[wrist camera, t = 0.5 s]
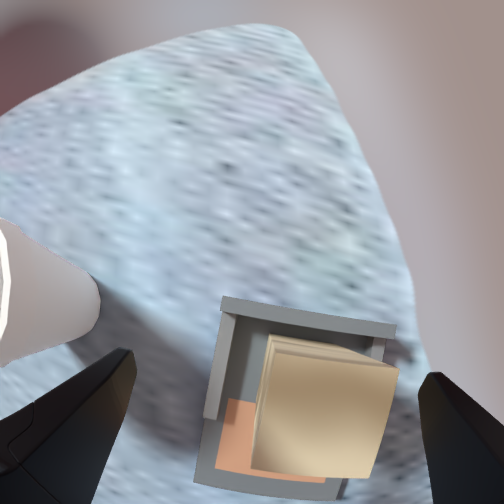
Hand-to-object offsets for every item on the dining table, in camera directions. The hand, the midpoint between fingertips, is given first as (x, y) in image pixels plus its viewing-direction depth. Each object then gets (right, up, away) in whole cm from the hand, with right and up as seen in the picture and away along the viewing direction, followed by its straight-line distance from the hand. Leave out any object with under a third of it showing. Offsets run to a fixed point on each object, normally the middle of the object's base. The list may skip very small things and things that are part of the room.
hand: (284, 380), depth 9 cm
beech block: (+2, -5, +14) cm, 15 cm away
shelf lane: (+2, -9, +14) cm, 17 cm away
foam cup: (-17, -1, +17) cm, 24 cm away
